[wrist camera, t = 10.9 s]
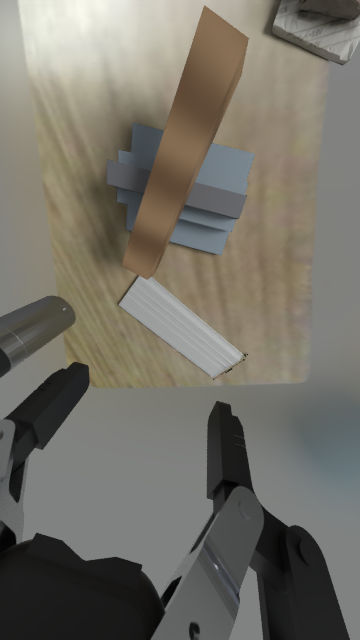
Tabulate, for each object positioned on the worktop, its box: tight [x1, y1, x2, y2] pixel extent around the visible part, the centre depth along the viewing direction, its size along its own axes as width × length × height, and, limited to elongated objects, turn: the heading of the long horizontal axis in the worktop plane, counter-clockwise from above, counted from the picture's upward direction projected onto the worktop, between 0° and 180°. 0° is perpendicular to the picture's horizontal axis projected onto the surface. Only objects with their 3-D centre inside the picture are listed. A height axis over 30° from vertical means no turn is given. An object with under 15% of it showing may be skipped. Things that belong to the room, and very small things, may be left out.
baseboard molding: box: [119, 276, 248, 380], centre depth 42 cm, size 31×3×12 cm
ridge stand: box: [107, 123, 255, 255], centre depth 26 cm, size 14×18×9 cm
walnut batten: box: [121, 5, 249, 280], centre depth 21 cm, size 22×4×4 cm, turn 153°
